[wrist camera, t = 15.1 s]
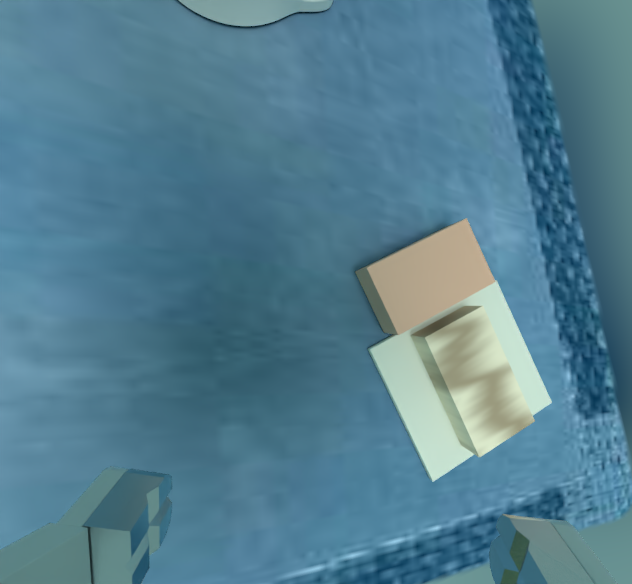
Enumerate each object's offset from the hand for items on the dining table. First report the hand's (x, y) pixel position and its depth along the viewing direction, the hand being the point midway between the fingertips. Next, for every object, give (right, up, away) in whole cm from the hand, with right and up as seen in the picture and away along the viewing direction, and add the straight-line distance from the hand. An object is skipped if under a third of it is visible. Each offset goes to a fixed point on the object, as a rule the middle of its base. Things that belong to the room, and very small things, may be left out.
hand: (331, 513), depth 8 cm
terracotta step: (+9, +7, +23) cm, 25 cm away
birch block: (+11, +3, +21) cm, 24 cm away
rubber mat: (+13, -2, +23) cm, 26 cm away
